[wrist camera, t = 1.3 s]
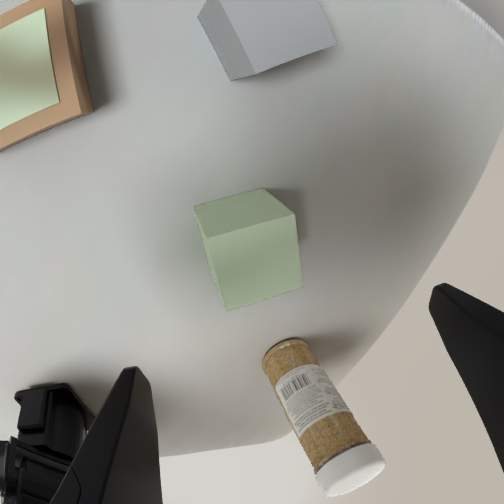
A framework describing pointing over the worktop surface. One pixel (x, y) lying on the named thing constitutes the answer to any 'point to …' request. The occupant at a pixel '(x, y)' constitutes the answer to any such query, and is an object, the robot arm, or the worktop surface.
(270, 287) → the sage block
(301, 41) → the slate block
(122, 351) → the worktop surface
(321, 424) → the sprinkles bottle
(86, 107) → the base block
